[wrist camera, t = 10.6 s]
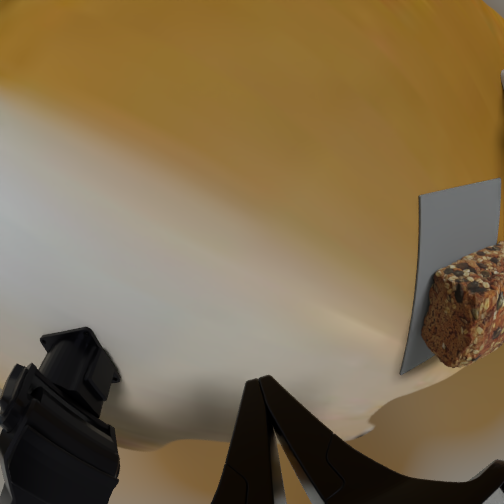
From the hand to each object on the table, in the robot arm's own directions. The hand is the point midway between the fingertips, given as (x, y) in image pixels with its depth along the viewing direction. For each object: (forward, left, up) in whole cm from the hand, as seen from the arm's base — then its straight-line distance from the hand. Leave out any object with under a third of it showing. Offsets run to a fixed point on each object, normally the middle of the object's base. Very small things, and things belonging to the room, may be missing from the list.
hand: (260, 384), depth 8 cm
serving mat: (+27, -11, -12) cm, 32 cm away
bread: (+29, -12, -12) cm, 34 cm away
